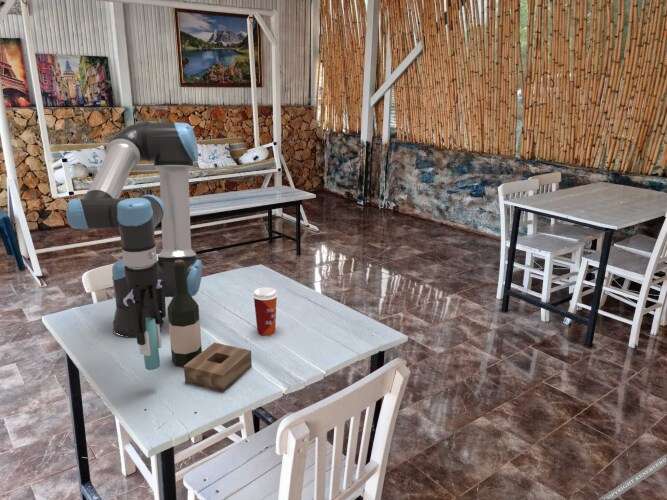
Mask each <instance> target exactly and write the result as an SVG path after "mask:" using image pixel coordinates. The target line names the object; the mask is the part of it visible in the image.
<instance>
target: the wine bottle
mask: <svg viewBox="0 0 667 500" xmlns="http://www.w3.org/2000/svg"><path fill="white" fill-rule="evenodd" d="M173 272H174V284H175V295H174V296H173V297H171V300H170V302H169V304H168V306H166V307H167V309H166V311H167V319H168V329H169V330H168V331H169V340H170V351H171V361H172V363H173V364H174V365H175V367H180V368H184V365H186V364H187V363H188V362H190V361H191V360H192V359H193V358H195V357H196V356H197V355H199V354H200V353H201V352H203V349H202V347H203V346H202V335H201V322H200V321H201V320H200V309H199V307H200V306H199V304H198V303H197V302H196V300H195V299H194V298H193V296H191V295H190V294H189V293H188V283H187V271H186V263H185V262H184V260H175V261H174V264H173Z"/></svg>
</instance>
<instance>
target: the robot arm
mask: <svg viewBox="0 0 667 500" xmlns="http://www.w3.org/2000/svg"><path fill="white" fill-rule="evenodd" d="M105 154H106V156H105V157H104V159H103V161H102V163H101V165H100V167H99V168H98V171H97V173H96V174H95V176H94V178H93V180H92V182H91V183H90V186H89V188H88V189H87V191H86V193H85V195H84V196H83V197H82V198H80V197H78V198H72V199H69V201H68V203H67V205H66V207H65V208H66V209H65V211H66V212H65V215H66V219H67V222H68V226H70V228H73V229H77V230H88V231H89V230H113V229H115V230H119V235H120V243H121V253H122V258H121V259H119V260H117V261H116V262H114V264H113V265H112V267H111V269H112V270H111V272H112V273H111V274H112V277H111V278H112V285H113V291H114V298H115V306H116V309H115V312H114V318H113V322H112V329H113V330H114V331H115V332H116V333H118V334H120V335H123V336H128V337H127V338H136V342H137V343H136V344H137V345H138V348H139V354H140V355H142V356H144V355H146V356H150V355H151V352H150V343H149V335H148V331H145V324H146V317H153V318H155V323H156V332H157V341H158V349H161V348H162V347H163V346H162V345H163V344H162V338H161V335H162V327H163V325H164V322H165V320H164V319H165V318H166V316H167V309H166V307H167V306H166V298H173V296H174V295H175V284H174V272H173V264H174V261H175V260H184V262H185V263H186V271H187V283H188V293H189V294H190V295H191V296H192V297H194V296H196V295H197V294H198V293H199V290H200V287H201V283H202V282H201V281H202V276H203V275H202V273H203V272H202V271H203V266H202V265H203V262H202V260H201V259H197V253H196V252H195V251H194V250H193V248H192V238H191V213H190V212H191V210H190V205H191V204H190V179H189V177H190V175H189V173H190V171H192V170H193V168H194V163H196V162H197V161H198V160H199V147H198V141H197V137H196V134H195V131H194V129H193V127H192V126H191V124H189V123H187V122H178V121H177V122H142V121H141V122H136V123H133V124H130V125H128V126H126V127H124V128H122V129H121V130H120V131H118V132H117V133H116V134H114V135H113V137H112V138H111V139H109V141H108V143H107V145H106V148H105ZM139 162H153V167H154V168H155V170H157V171H158V172H159V187H160V188H159V189H160V197H158V196H156V195H154V194H145V195H142V196H139V197H129V198H120V196H121V194H122V192H123V189H124V187H125V185H126V184H127V183H126V182H127V180H128V178H129V175H130V173H131V171H132V169H133V168H134V167H136V166H137V165H138V164H139ZM160 223H161V236H162V237H161V239H162V250H161V251H160V252H159V253H158V254H157V249H156V247H157V246H156V238H155V237H156V236H155V229H156V227H157V226H158V225H159V224H160ZM114 331H113V332H114Z"/></svg>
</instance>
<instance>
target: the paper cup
mask: <svg viewBox="0 0 667 500" xmlns="http://www.w3.org/2000/svg"><path fill="white" fill-rule="evenodd" d="M278 295H279V294H278V293H277V289H275V288H273V287H265V286H264V287H259V288H256V289H255V290H254V292H253V294H252V297H253V303H254V309H255V310H254V312H255V321H256V322H255V323H256V330H257V334H258V335H260V336H263V337H264V336H265V337H269V336H272V335H275V334H276V325H277V324H276V323H277V322H276V321H277V297H278Z"/></svg>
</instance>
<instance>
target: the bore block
mask: <svg viewBox="0 0 667 500" xmlns="http://www.w3.org/2000/svg"><path fill="white" fill-rule="evenodd" d="M252 363H253V362H252V350H250V349H245V348H241V347H237V346H231V345H227V344H224V343H223V344H222V343H219V342H213V343H212V344H211V345H209V346H208V347H206V348H205V349H204V350H202V352H201V353H200V354H199V355H197V356H196V357H195V358H193V359H192V360H191V361H190V362H188V363H187V364H186V365H184V367H183V373H184V382H185V383H186V384H188V385H193V386H196V387H201V388H205V389H209V390H213V391H216V392H220V393H222V394H223V393H225V392H227V390H228V389H229V388H230V387H231V386H232V385H234V384H235V383H236V382H237V381H238V380H239V379H240V378H241V377H242V376H243V375H244V374H245V373H247V371H249V370H250V369H251V367H252Z"/></svg>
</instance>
